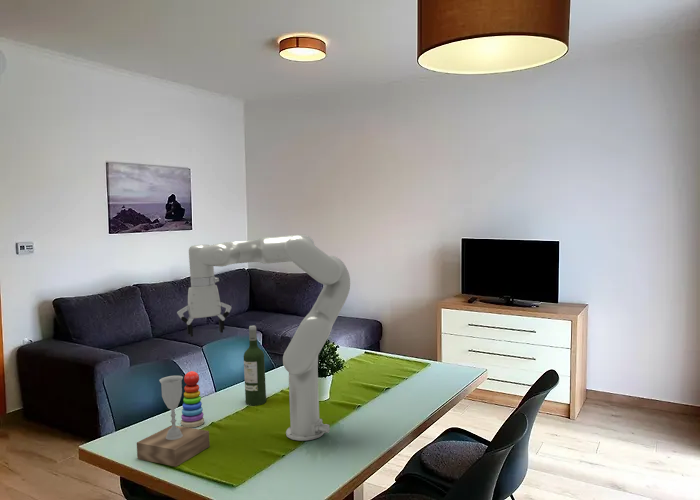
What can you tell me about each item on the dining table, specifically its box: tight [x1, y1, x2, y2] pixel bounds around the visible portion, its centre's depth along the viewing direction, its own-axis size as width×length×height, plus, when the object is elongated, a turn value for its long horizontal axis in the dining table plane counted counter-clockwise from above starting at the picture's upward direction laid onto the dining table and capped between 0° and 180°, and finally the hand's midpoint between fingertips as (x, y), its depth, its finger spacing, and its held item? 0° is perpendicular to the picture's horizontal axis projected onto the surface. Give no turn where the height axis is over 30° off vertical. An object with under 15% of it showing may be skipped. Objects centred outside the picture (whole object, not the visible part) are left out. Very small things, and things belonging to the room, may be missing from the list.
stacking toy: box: [180, 370, 205, 428], centre depth 192 cm, size 8×8×19 cm
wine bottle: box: [243, 325, 267, 407], centre depth 212 cm, size 8×8×30 cm
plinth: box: [136, 424, 211, 468], centre depth 168 cm, size 15×15×5 cm
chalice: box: [159, 375, 184, 440], centre depth 168 cm, size 7×7×18 cm
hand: (206, 334), depth 180 cm, fingers open, 9 cm apart
